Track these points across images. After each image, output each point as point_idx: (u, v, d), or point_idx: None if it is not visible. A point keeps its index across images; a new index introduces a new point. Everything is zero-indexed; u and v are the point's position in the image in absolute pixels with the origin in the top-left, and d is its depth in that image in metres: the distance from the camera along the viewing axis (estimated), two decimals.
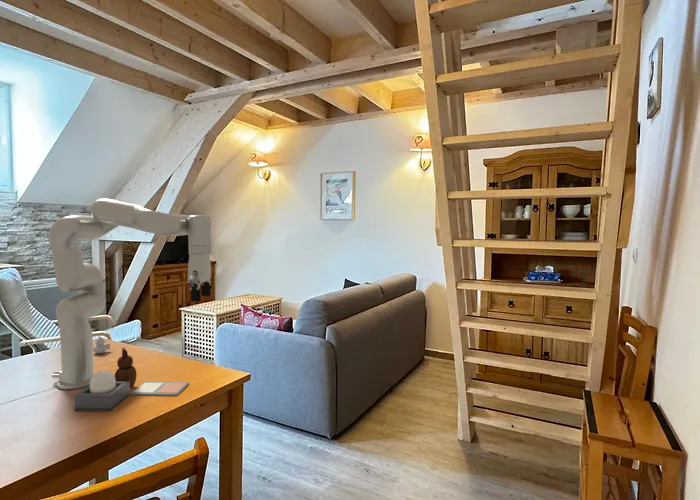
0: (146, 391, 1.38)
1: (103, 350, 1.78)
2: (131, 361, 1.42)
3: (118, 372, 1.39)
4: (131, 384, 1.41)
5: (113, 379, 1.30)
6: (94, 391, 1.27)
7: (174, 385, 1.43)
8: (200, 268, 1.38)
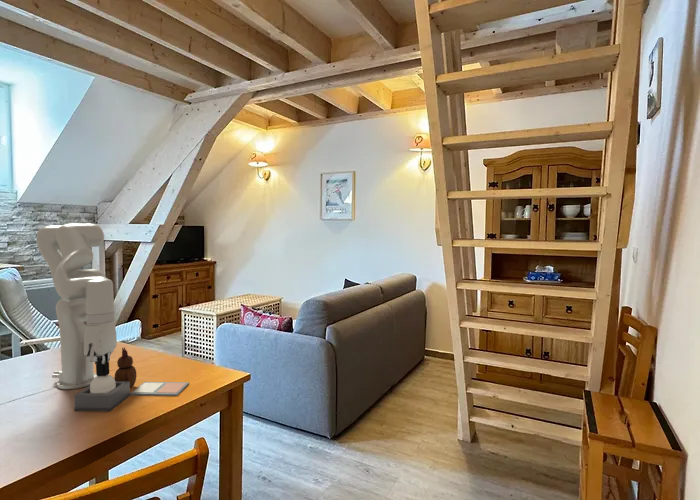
0: (146, 391, 1.38)
1: None
2: (131, 361, 1.42)
3: (118, 372, 1.39)
4: (131, 384, 1.41)
5: (113, 383, 1.30)
6: None
7: (174, 385, 1.43)
8: (97, 340, 1.24)
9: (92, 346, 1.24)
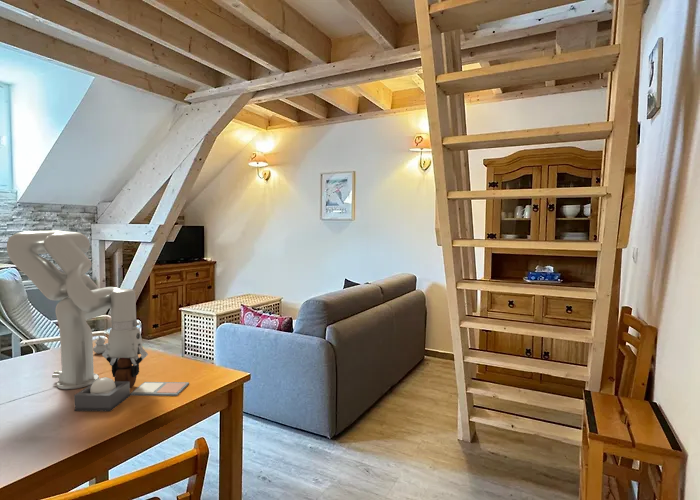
0: (146, 391, 1.38)
1: (103, 350, 1.78)
2: (131, 361, 1.42)
3: (118, 372, 1.39)
4: (131, 384, 1.41)
5: (113, 386, 1.30)
6: None
7: (174, 385, 1.43)
8: (108, 342, 1.39)
9: None
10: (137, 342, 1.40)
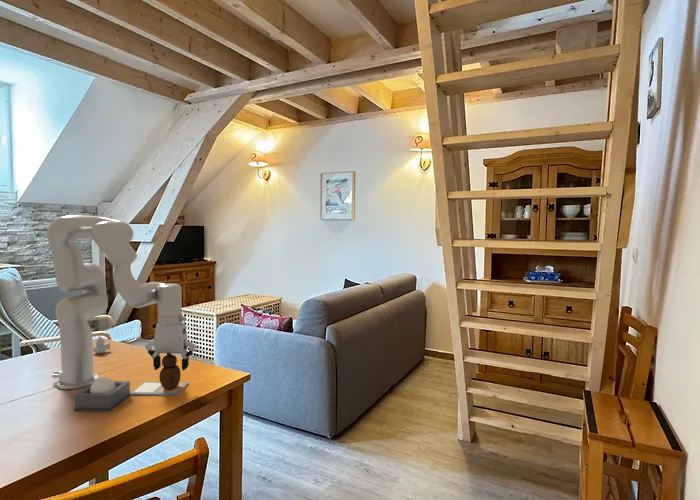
0: (146, 391, 1.38)
1: (103, 350, 1.78)
2: (175, 360, 1.41)
3: (163, 372, 1.38)
4: (176, 383, 1.40)
5: (113, 386, 1.30)
6: None
7: None
8: (154, 338, 1.38)
9: None
10: (183, 337, 1.39)
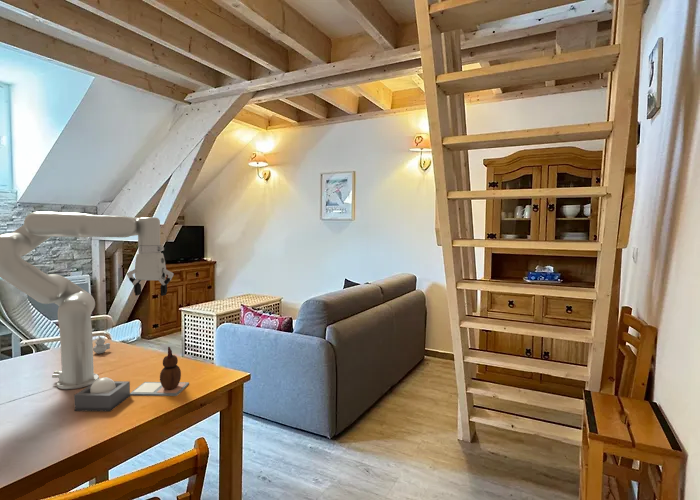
0: (146, 391, 1.38)
1: (103, 350, 1.78)
2: (176, 360, 1.40)
3: (164, 372, 1.38)
4: (176, 384, 1.40)
5: (113, 386, 1.30)
6: None
7: None
8: (135, 266, 1.52)
9: None
10: (162, 266, 1.52)
